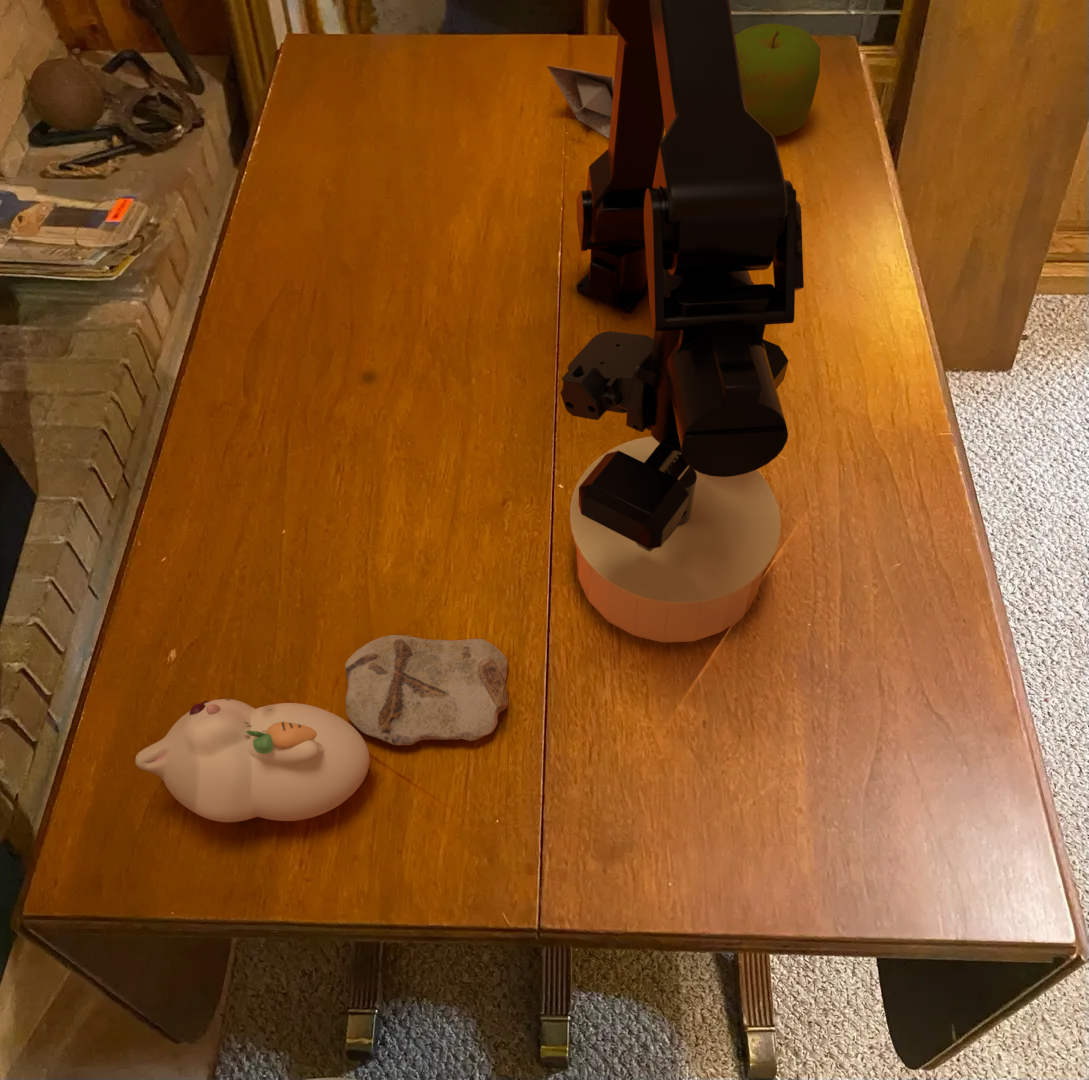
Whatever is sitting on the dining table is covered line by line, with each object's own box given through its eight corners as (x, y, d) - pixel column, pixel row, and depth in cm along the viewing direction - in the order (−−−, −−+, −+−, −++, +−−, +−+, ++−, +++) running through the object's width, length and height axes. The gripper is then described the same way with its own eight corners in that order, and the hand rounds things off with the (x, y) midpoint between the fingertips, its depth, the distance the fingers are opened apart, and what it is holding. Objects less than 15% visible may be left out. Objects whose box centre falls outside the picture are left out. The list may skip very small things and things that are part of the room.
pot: (636, 470, 88) (640, 418, 83) (790, 545, 83) (805, 495, 78) (542, 588, 81) (540, 541, 76) (703, 678, 76) (714, 634, 71)
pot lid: (637, 415, 84) (641, 366, 79) (813, 498, 79) (828, 450, 74) (529, 547, 76) (526, 501, 72) (716, 648, 71) (726, 605, 66)
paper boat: (658, 108, 118) (632, 130, 111) (623, 149, 122) (596, 172, 116) (583, 31, 116) (553, 48, 110) (551, 74, 121) (519, 94, 114)
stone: (343, 758, 73) (335, 739, 70) (351, 646, 78) (343, 625, 76) (510, 750, 73) (508, 730, 71) (507, 639, 78) (505, 617, 76)
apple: (786, 89, 122) (803, -3, 113) (824, 140, 116) (845, 46, 107) (698, 105, 121) (709, 13, 112) (732, 157, 114) (746, 64, 106)
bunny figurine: (366, 707, 65) (122, 704, 63) (361, 836, 64) (115, 836, 63) (375, 696, 74) (163, 693, 73) (371, 808, 74) (157, 807, 72)
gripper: (661, 225, 70) (646, 385, 83) (505, 391, 61) (515, 542, 74) (810, 283, 66) (770, 442, 79) (666, 469, 57) (648, 614, 70)
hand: (676, 504), depth 76 cm, fingers open, 9 cm apart
